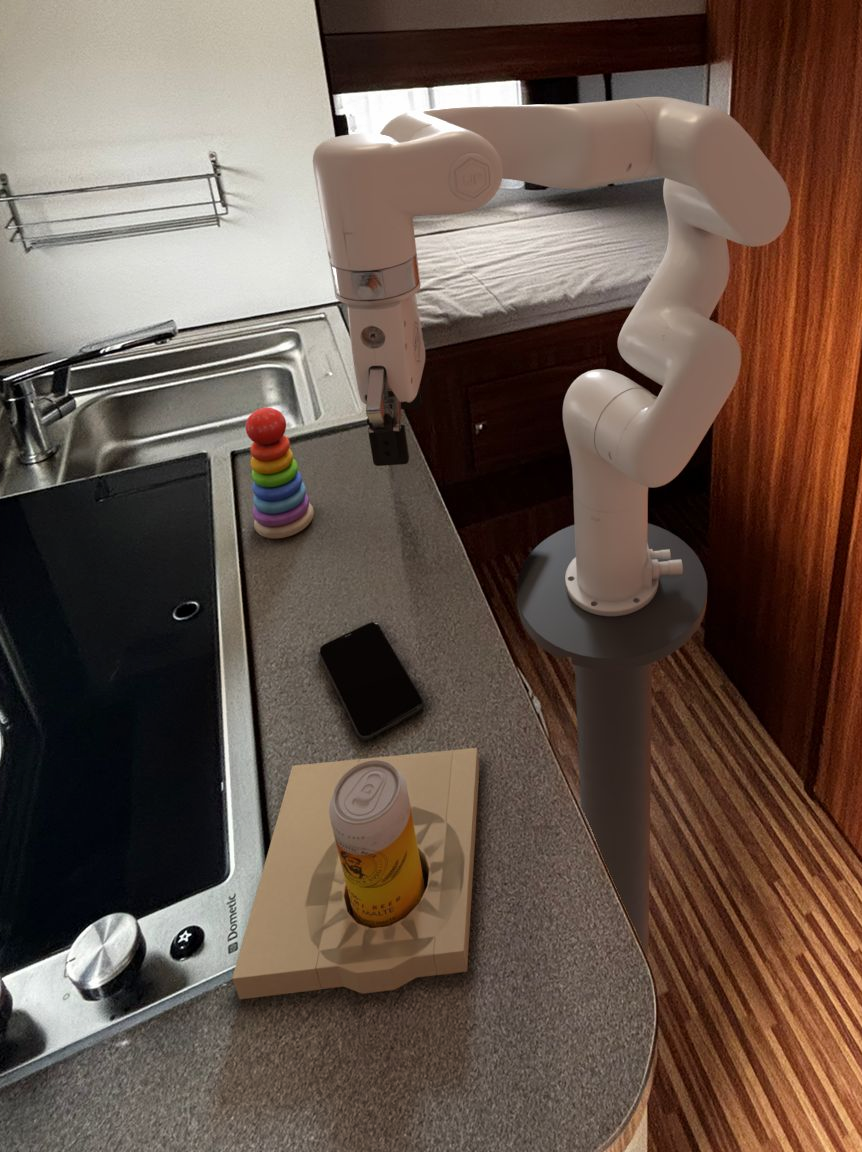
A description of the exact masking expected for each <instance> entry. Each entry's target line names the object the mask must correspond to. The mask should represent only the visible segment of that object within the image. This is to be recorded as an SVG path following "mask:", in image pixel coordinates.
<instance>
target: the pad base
mask: <svg viewBox="0 0 862 1152" xmlns="http://www.w3.org/2000/svg"><path fill="white" fill-rule="evenodd" d="M369 760H382V761H386V762H388V763H390V764H391V765H393V766H394V767H395V768H396V769H397V770H398V771H399V772H400V773H401V774H402V775H403V777H404V779H405V781H406V784H407V790H408V795H409V801H410V806H411V812H412V818H413V823H414V829H415V834H416V840H417V846H418V851H419V857H420V862H421V868H422V871H424V872H425V873H426V874H427V876H428V877H427V886H426V888H425V889H424V894H423V896H422V898H421V901H420V903H419V904H418V905H417V906H416V907H415V908H414V909H413V910H412V911H411V912H410V913H409V914H408V915H407V917H406V918H404V919H402V920H400V921H398V922H396V923H394V924H392V925H391V926H387V927H378V928H369V927H366V926H363V925H360V924H358V923H357V922H356V920H355V918H354V917H353V916H352V915H351V914H350V912H351V908H352V906H351V902H350V898H349V894H348V890H347V886H346V882H345V878H344V874H343V869H342V865H341V861H340V857H339V853H338V849H337V845H336V841H335V837H334V833H333V829H332V825H331V821H330V816H329V806H330V802H331V799H332V796H333V792H334V789H335V787H336V785H337V783H338V781H339V780H340V778H341V777H342V776H343V775H344V774H345V773H346V772H347V771H348V770H350V769H351V768H352V767H354V766H356V765H358V764H360V763H362V762H365V761H369ZM479 781H480V759H479V752H478V747H471V748H460V749H459V748H458V749H452V750H440V751H430V752H419V753H410V754H400V755H389V756H379V757H369V758H368V757H367V758H359V759H357V758H356V759H348V760H346V759H345V760H336V761H328V762H317V763H307V764H305V763H304V764H296V765H292V767H291V770H290V774H289V777H288V781H287V784H286V787H285V792H284V795H283V799H282V801H281V804H280V808H279V811H278V816H277V819H276V822H275V826H274V829H273V833H272V836H271V840H270V844H269V848H268V850H267V854H266V858H265V862H264V865H263V869H262V873H261V876H260V879H259V882H258V886H257V890H256V893H255V896H254V900H253V903H252V907H251V911H250V913H249V918H248V920H247V925H246V928H245V932H244V936H243V939H242V942H241V947H240V949H239V950H240V951H239V953H238V956H237V960H236V964H235V966H234V971H233V974H232V977H231V980H232V982H233V985H234V988H235V990H236V993H237V996H238V998H239V1000H245V999H246V1000H247V999H255V998H263V997H271V996H272V997H273V996H280V995H286V994H287V995H288V994H297V993H303V992H311V991H320V990H326V989H327V990H328V989H334V988H335V989H336V988H347V989H348V990H351V991H354V992H357V993H359V994H362V995H364V994H371V993H378V992H379V993H380V992H387V991H394V990H398V989H399V988H401V987H402V986H404V985H406V984H408V983H409V982H411V981H413V980H415V979H418V978H424V977H433V976H442V975H451V974H458V973H466V972H468V961H469V945H470V930H471V915H472V914H471V913H472V897H473V882H474V881H473V878H474V866H475V865H474V864H475V850H476V849H475V848H476V847H475V846H476V833H477V832H476V830H477V815H478V814H477V813H478V800H479V799H478V798H479Z"/></svg>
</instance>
